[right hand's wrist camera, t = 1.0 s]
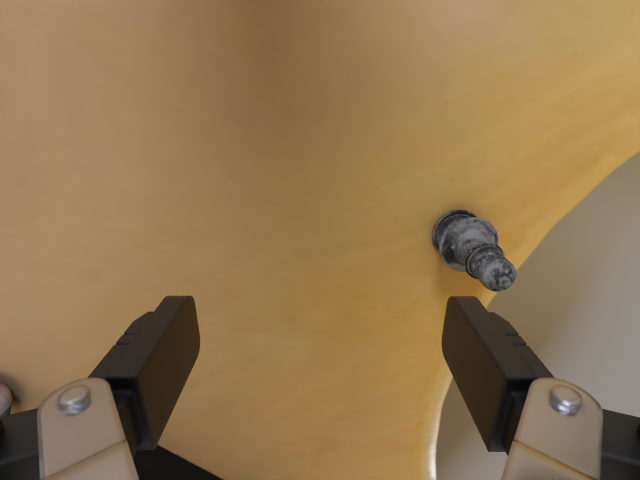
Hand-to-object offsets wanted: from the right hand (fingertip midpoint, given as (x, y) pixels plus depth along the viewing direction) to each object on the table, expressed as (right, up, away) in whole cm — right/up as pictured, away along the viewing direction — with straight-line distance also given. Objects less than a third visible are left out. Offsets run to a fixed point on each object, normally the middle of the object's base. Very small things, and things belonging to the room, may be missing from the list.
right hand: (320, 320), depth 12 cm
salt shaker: (+15, +3, +29) cm, 32 cm away
